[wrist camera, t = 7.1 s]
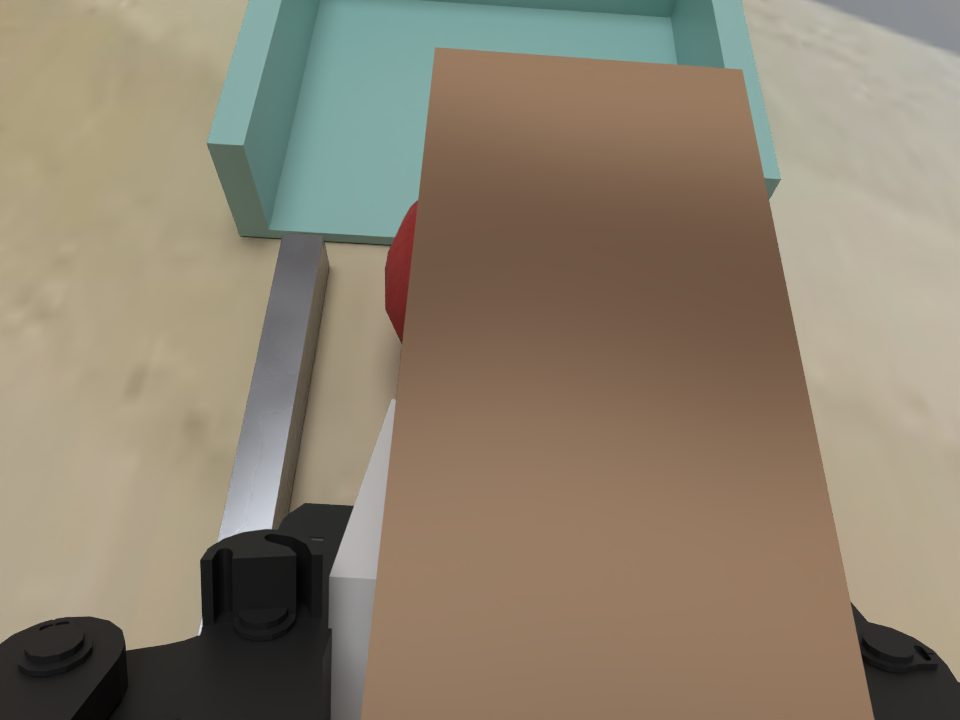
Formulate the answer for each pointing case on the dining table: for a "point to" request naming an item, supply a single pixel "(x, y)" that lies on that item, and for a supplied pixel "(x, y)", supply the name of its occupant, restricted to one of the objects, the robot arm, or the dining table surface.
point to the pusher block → (602, 417)
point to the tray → (412, 94)
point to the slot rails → (278, 390)
